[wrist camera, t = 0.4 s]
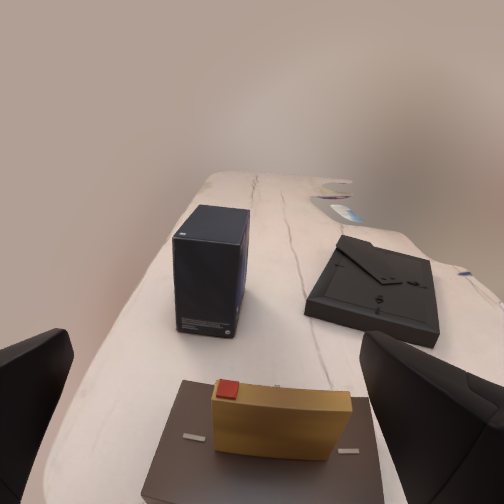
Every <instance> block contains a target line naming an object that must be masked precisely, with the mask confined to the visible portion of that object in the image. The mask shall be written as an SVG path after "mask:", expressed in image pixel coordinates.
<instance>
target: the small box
mask: <svg viewBox="0 0 504 504" xmlns="http://www.w3.org/2000/svg"><path fill="white" fill-rule="evenodd" d="M249 227H250V210H246V209H236V208H227V207H218V206H209V205H199V206H198V207H197V208H196V209H195V210H194V212H193V213H192V214H191V215H190V216H189V218H188V219H187V220H186V221H185V222H184V223H183V225H182V226H181V227H180V228H179V230H178V231H177V232H176V233H175V234H174V236H173V237H172V246H173V248H172V250H173V276H174V287H175V311H176V330H178V331H184V332H192V333H199V334H206V335H213V336H220V337H230V338H233V337H234V335H235V332H236V327H237V322H238V318H239V313H240V308H241V304H242V299H243V294H244V289H245V282H246V272H247V259H248V245H249Z"/></svg>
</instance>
